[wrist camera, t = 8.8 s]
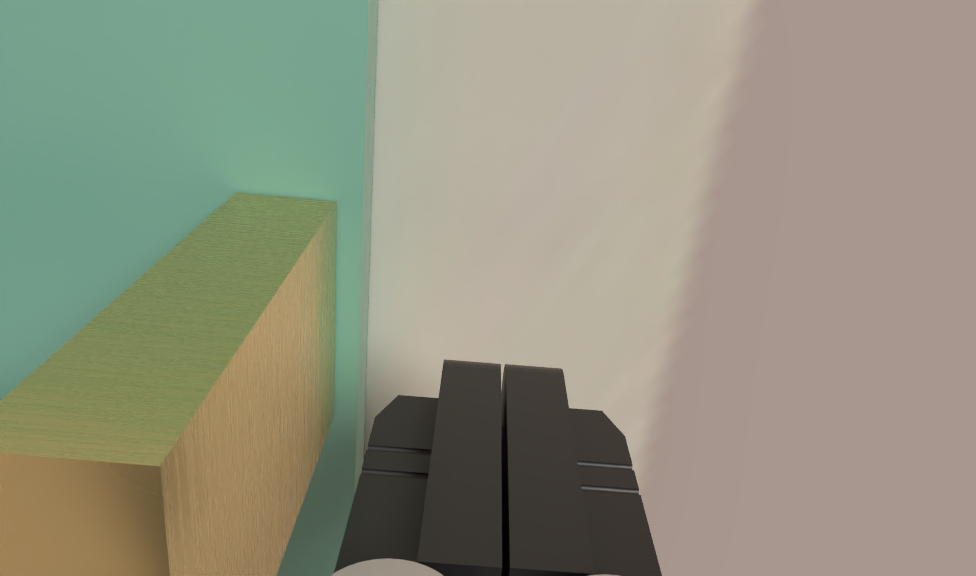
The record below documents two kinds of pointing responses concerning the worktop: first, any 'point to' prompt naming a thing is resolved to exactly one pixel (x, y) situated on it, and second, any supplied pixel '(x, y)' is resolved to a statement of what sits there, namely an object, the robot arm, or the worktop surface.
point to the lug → (182, 408)
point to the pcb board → (184, 173)
